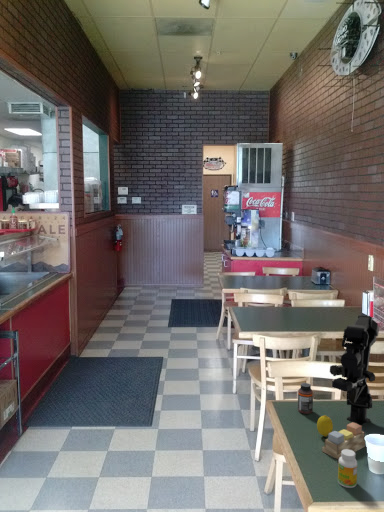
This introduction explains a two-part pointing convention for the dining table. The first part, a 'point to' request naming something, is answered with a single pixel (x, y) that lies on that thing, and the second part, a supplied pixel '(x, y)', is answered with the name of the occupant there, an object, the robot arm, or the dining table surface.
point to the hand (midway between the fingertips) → (353, 402)
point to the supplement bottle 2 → (347, 469)
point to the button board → (344, 445)
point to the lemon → (324, 425)
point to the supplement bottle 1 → (305, 399)
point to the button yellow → (346, 434)
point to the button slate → (336, 437)
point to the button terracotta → (354, 428)
